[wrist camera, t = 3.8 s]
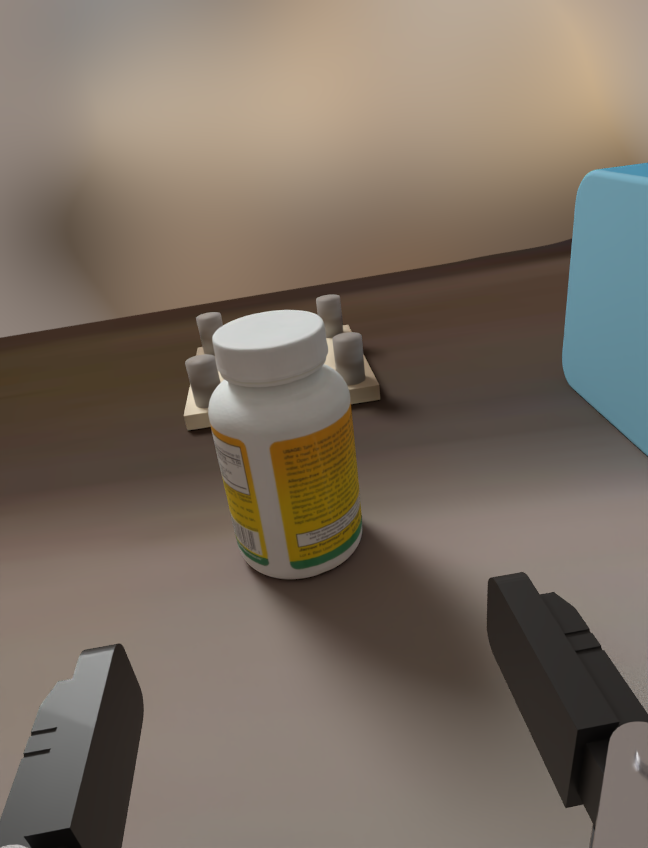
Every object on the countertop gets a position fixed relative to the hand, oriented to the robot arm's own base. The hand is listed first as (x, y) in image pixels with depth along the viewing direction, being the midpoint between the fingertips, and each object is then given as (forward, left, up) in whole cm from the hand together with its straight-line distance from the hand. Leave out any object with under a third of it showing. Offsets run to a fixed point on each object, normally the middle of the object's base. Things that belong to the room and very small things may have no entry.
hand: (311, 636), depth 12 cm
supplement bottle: (0, -11, -6) cm, 12 cm away
